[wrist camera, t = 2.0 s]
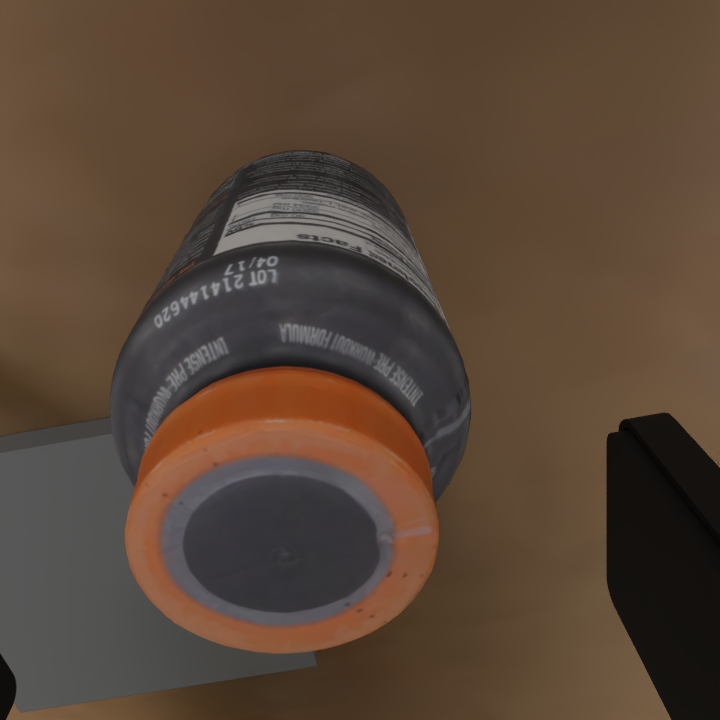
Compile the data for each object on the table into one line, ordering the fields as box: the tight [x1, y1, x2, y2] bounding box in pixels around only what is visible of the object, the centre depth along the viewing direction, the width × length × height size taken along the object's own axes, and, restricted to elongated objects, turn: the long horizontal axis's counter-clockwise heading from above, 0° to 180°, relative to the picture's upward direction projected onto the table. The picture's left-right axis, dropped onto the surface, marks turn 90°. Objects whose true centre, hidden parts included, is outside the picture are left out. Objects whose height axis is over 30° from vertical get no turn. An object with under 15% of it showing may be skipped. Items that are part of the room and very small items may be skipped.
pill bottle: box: [110, 150, 471, 654], centre depth 13 cm, size 6×6×11 cm
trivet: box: [0, 417, 318, 712], centre depth 23 cm, size 12×12×1 cm
